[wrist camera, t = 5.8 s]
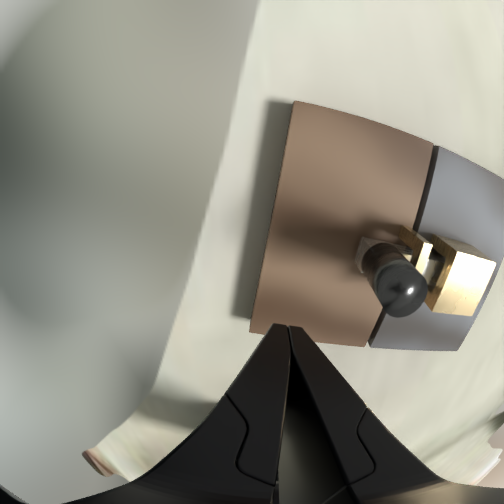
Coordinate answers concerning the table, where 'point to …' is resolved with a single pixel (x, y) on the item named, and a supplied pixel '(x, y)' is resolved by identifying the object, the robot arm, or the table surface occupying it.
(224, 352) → the table surface
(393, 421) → the table surface
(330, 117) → the board
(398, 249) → the steel bolt
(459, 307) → the brass keeper
